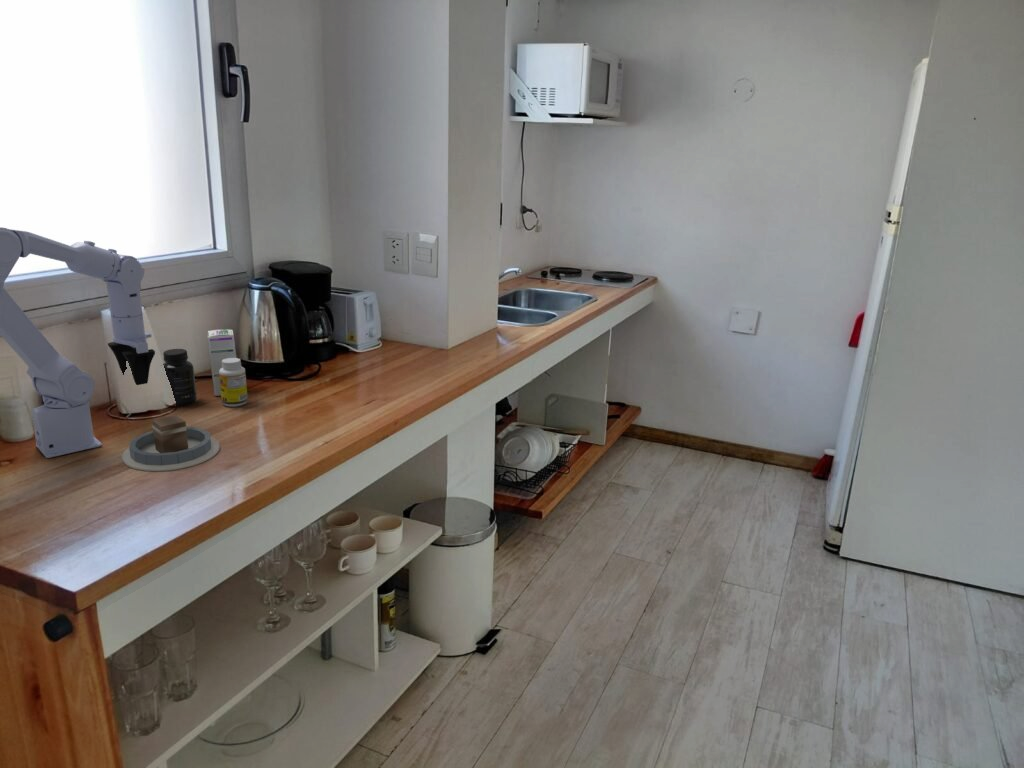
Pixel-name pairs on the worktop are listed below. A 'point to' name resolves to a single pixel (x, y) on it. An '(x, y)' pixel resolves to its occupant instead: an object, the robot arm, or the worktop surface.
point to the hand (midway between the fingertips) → (135, 379)
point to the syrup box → (220, 353)
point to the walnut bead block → (170, 434)
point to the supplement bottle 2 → (233, 383)
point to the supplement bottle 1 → (180, 376)
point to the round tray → (150, 459)
